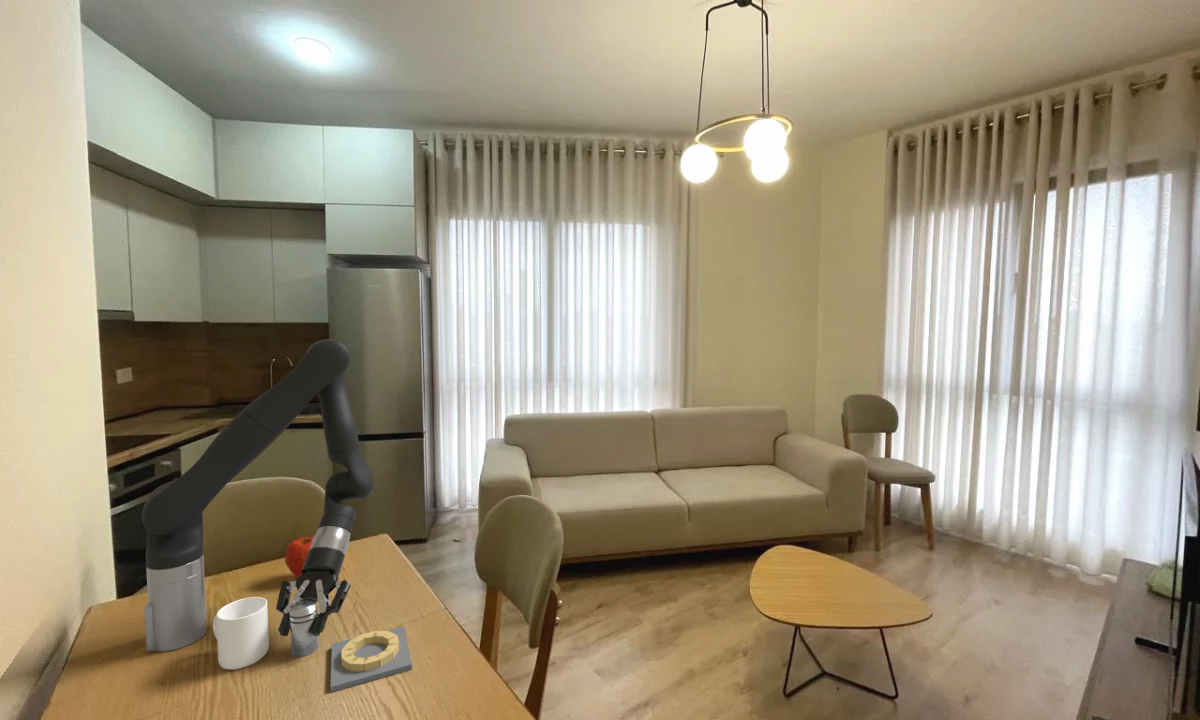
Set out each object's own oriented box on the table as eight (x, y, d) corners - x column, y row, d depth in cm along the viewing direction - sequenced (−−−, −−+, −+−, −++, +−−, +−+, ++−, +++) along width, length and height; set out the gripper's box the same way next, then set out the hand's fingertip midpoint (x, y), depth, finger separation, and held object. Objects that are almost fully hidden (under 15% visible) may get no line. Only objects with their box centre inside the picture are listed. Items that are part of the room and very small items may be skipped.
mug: (194, 661, 99) (192, 611, 99) (236, 637, 107) (234, 590, 107) (238, 675, 96) (236, 623, 95) (278, 649, 104) (277, 600, 103)
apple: (291, 589, 127) (290, 548, 126) (281, 578, 132) (279, 538, 132) (327, 577, 133) (326, 538, 132) (316, 567, 139) (315, 529, 138)
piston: (289, 660, 100) (288, 614, 100) (291, 646, 104) (290, 602, 104) (317, 653, 102) (316, 608, 102) (318, 639, 107) (317, 596, 106)
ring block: (330, 692, 92) (330, 679, 91) (332, 648, 104) (331, 636, 104) (411, 669, 98) (411, 656, 98) (404, 630, 110) (403, 619, 110)
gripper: (287, 545, 109) (253, 631, 98) (354, 545, 110) (328, 630, 99) (301, 558, 115) (271, 640, 104) (365, 557, 116) (342, 639, 104)
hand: (299, 634), depth 101 cm, fingers open, 5 cm apart
